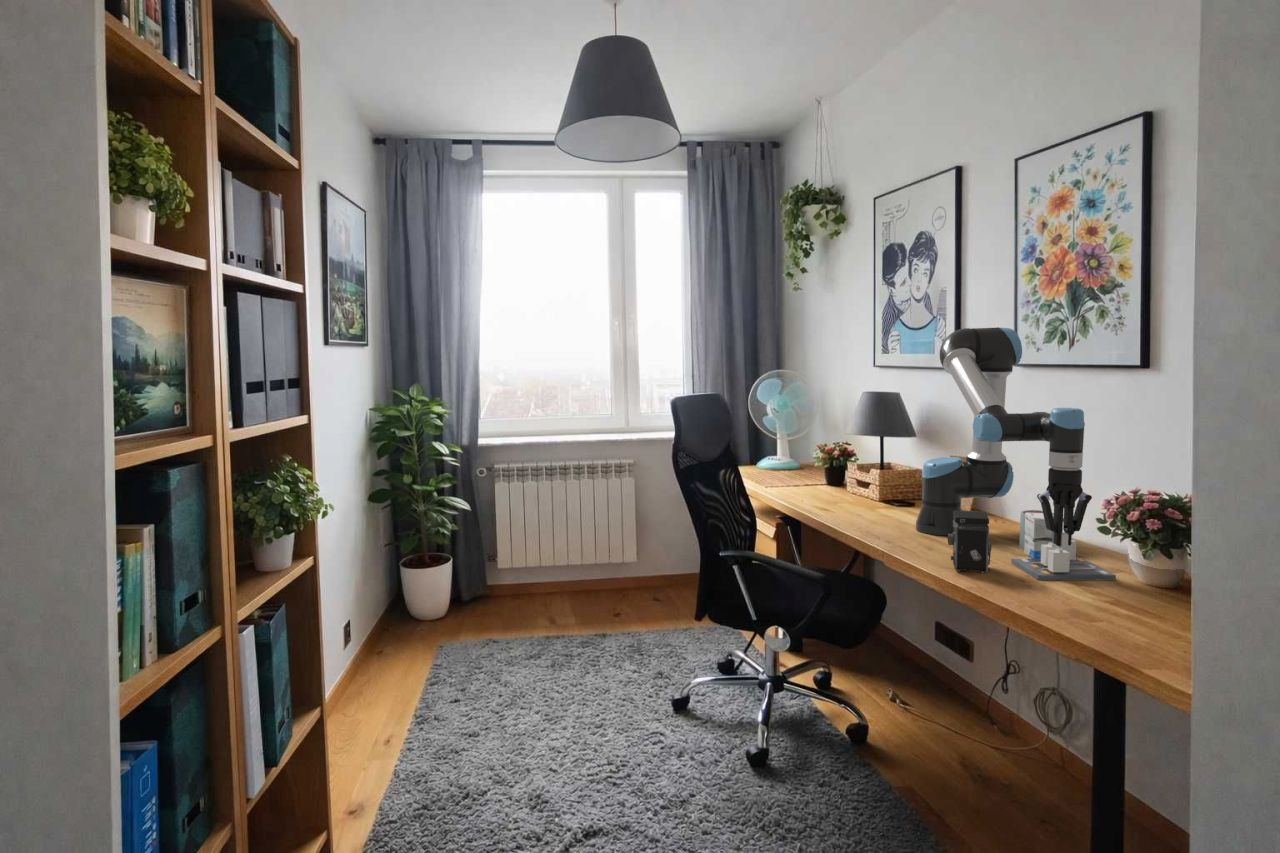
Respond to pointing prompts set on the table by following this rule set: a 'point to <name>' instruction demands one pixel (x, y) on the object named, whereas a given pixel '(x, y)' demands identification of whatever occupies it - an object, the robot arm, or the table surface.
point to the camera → (970, 541)
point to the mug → (1022, 526)
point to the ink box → (1035, 534)
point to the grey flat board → (1077, 571)
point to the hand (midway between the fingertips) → (1061, 557)
